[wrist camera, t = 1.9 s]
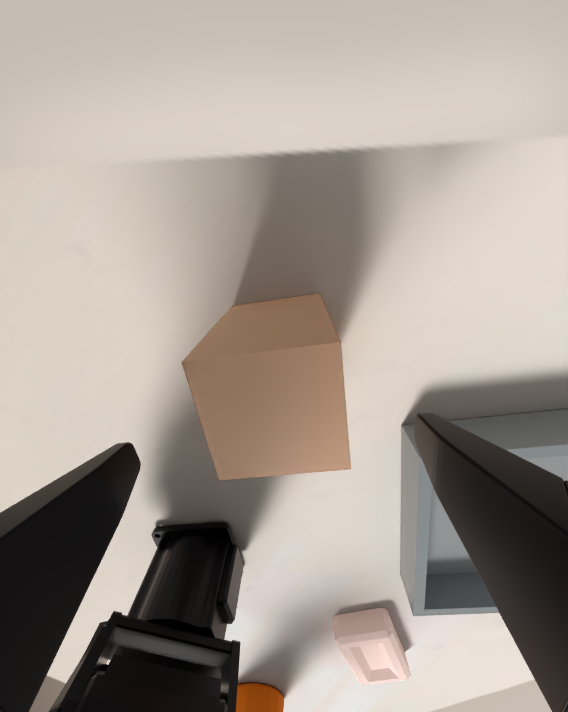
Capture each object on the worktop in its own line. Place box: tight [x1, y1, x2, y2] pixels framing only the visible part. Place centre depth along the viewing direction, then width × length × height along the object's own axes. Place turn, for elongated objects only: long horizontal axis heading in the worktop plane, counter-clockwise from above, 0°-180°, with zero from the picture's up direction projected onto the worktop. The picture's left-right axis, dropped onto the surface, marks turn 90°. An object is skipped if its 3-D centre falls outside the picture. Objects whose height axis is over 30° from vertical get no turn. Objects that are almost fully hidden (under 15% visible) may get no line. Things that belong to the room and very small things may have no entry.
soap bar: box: [333, 608, 411, 685], centre depth 28 cm, size 5×9×2 cm, turn 21°
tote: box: [400, 409, 568, 616], centre depth 20 cm, size 18×16×3 cm
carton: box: [182, 293, 351, 480], centre depth 13 cm, size 5×5×8 cm
